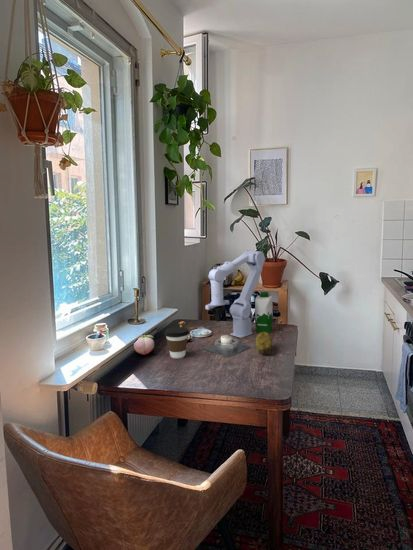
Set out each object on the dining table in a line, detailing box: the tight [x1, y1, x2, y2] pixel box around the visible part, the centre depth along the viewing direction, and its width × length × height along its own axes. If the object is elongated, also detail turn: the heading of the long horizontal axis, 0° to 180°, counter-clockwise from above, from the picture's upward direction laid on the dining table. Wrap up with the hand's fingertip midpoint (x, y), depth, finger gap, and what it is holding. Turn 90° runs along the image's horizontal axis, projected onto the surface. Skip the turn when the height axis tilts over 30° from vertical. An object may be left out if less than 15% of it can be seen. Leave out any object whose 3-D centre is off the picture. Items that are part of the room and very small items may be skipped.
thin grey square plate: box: [201, 337, 252, 358], centre depth 188 cm, size 16×16×4 cm
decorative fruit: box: [133, 333, 155, 356], centre depth 184 cm, size 9×8×10 cm
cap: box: [220, 334, 233, 344], centre depth 188 cm, size 5×5×5 cm
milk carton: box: [254, 291, 274, 334], centre depth 212 cm, size 9×9×20 cm
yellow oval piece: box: [255, 332, 273, 355], centre depth 183 cm, size 8×13×8 cm, turn 159°
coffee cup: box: [164, 326, 190, 359], centre depth 181 cm, size 11×11×12 cm
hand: (218, 321), depth 199 cm, fingers closed
